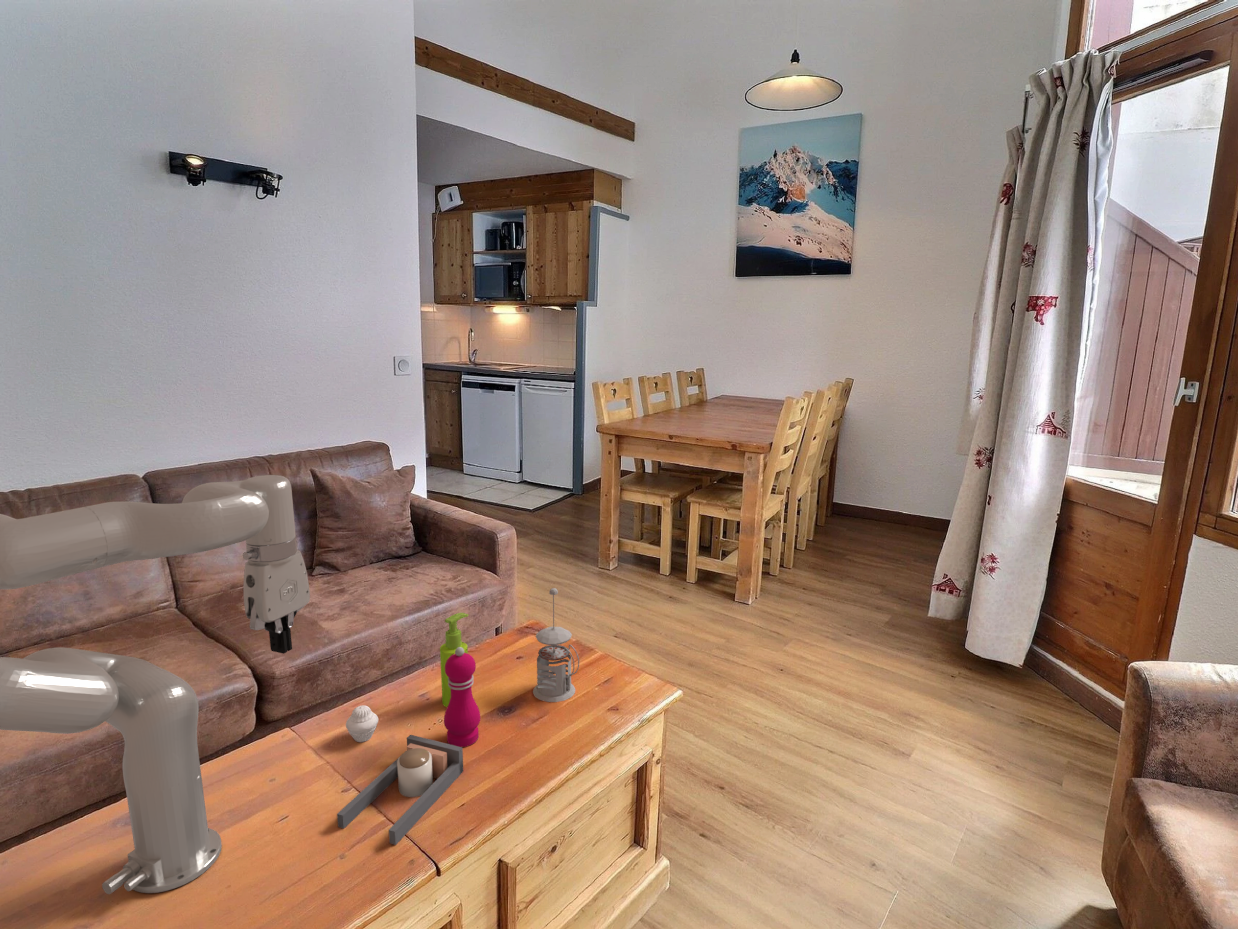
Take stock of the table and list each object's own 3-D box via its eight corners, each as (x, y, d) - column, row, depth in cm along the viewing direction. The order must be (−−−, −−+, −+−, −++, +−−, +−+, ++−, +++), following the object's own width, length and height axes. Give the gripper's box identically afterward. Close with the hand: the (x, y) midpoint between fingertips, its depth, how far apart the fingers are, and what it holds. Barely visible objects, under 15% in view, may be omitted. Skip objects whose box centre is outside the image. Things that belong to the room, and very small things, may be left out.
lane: (395, 845, 111) (394, 818, 110) (338, 827, 115) (335, 800, 114) (463, 771, 130) (462, 747, 129) (411, 757, 134) (410, 734, 133)
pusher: (444, 780, 127) (443, 756, 126) (407, 770, 130) (406, 746, 129) (447, 776, 128) (446, 752, 127) (411, 766, 131) (410, 743, 130)
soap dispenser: (478, 697, 155) (475, 614, 151) (455, 711, 150) (452, 625, 146) (459, 689, 159) (456, 608, 154) (436, 703, 153) (432, 619, 149)
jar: (420, 800, 122) (418, 770, 121) (391, 792, 124) (389, 763, 123) (439, 779, 128) (438, 750, 126) (412, 772, 129) (410, 744, 128)
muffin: (346, 749, 136) (343, 717, 135) (347, 732, 142) (345, 701, 140) (379, 743, 138) (377, 712, 137) (379, 726, 144) (377, 696, 142)
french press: (552, 675, 165) (551, 577, 160) (590, 691, 159) (590, 588, 154) (523, 692, 158) (522, 590, 152) (562, 709, 151) (562, 602, 146)
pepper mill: (472, 751, 136) (469, 658, 132) (438, 746, 137) (434, 654, 133) (486, 730, 143) (483, 641, 139) (454, 726, 144) (450, 637, 140)
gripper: (252, 566, 107) (263, 674, 111) (322, 539, 121) (330, 636, 125) (216, 560, 110) (228, 666, 113) (289, 534, 123) (297, 629, 127)
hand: (281, 650), depth 119 cm, fingers closed
